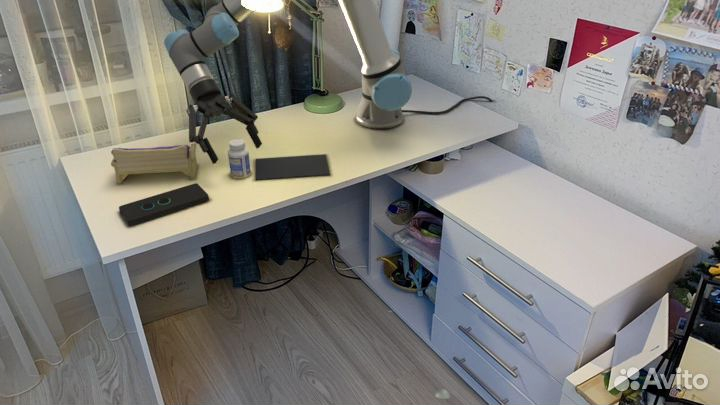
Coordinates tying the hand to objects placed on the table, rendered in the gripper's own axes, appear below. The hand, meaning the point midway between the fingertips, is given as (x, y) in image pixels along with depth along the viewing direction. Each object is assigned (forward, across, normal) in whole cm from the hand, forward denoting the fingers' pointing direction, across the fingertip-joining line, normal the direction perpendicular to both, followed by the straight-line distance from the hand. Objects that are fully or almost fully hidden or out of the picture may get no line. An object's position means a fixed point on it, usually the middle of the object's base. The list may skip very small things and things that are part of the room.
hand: (238, 153), depth 150 cm
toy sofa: (-6, +16, -15) cm, 23 cm away
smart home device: (+5, +23, -4) cm, 24 cm away
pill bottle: (+4, 0, -5) cm, 6 cm away
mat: (+9, -13, 0) cm, 16 cm away
